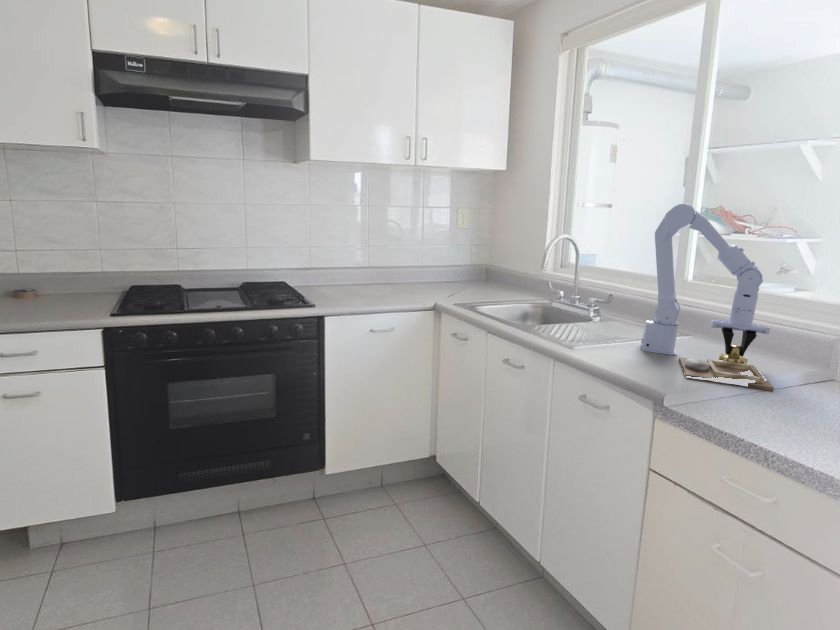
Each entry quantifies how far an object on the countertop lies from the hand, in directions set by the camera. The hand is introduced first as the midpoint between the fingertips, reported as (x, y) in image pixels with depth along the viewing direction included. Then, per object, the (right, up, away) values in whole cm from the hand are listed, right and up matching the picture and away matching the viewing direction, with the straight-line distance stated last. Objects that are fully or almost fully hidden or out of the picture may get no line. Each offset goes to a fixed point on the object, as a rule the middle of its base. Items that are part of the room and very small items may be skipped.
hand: (734, 354), depth 159 cm
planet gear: (0, -2, +1) cm, 2 cm away
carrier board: (-9, -5, -11) cm, 15 cm away
